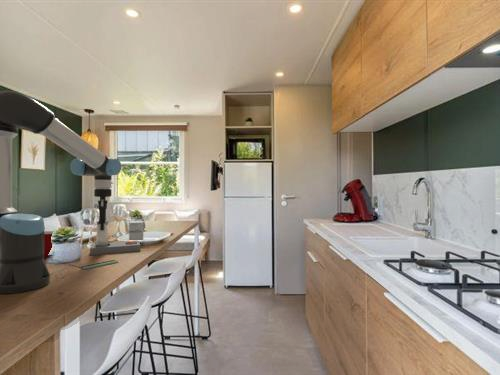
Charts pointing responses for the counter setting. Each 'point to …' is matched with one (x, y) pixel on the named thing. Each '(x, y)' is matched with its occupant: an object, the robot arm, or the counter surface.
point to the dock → (114, 248)
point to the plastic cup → (47, 243)
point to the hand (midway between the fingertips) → (102, 236)
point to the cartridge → (102, 240)
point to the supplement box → (136, 230)
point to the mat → (97, 264)
